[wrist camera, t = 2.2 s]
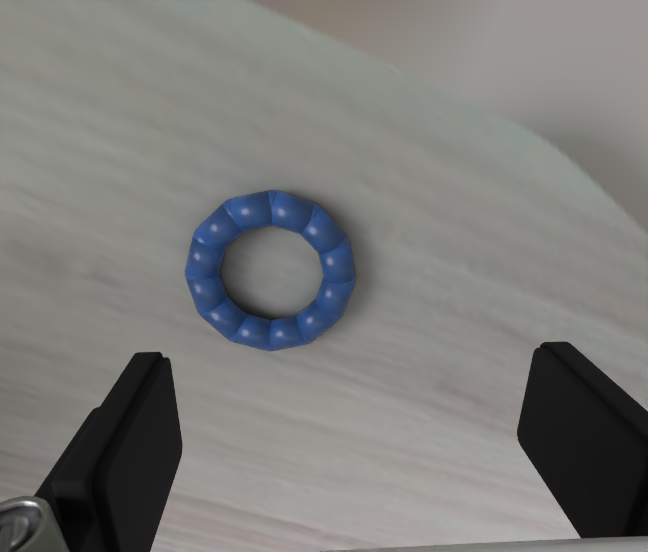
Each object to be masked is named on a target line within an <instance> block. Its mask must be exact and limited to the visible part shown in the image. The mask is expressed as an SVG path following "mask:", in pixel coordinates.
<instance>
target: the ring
mask: <svg viewBox="0 0 648 552" xmlns="http://www.w3.org/2000/svg"><path fill="white" fill-rule="evenodd" d="M271 225H274V226H277V227H280V228H283V229H287V230H290V231H293V232H296V233H300V234H301V235H302V236H303V237H304V238H305V239H306V240H307V241H308V243H309V244H310V245H311V246H312V247H313V248H314V249H315V250H316V251H317V252H318V253H319V258H320V262H321V267H322V271H323V276H324V278H323V281H322V283H321V286H320V289H319V292H318V295H317V298H316V300H314V301H313V302H312V303H311V304H310V305H308V306H307V307H306V308H305V309H304V310H302V311H301V312H300V313H299V314H298V315H295V316H290V317H285V318H280V319H275V320H269V319H265V318H261V317H257V316H254V315H250V314H246V313H245V312H244V311H243V310H242V309H240V308H239V307H238V306H237V305H236V304H235V303H234V302H233V301H232V300H231V299H230V298H228V297H227V295H226V292H225V289H224V286H223V283H222V280H221V276H220V273H219V271H220V267H221V264H222V260H223V256H224V252H225V249H226V248H227V247H228V246H229V245H230V244H231V243H232V242H233V241H234V240H235V239H237V238H238V237H239V236H240V235H241V234H242V233H243V232H244V231H247V230H252V229H257V228H261V227H266V226H271ZM185 277H186V280H187V283H188V286H189V289H190V291H191V294H192V297H193V300H194V303H195V306H196V308H197V311H198V313H199V314H200V315H201V316H202V317H203V318H204V319H205V320H206V321H207V322H208V323H209V324H211V325H212V326H213V327H214V328H215V329H216V330H217V331H219V332H220V333H221V334H222V335H223V336H224V337H225V338H227V339H228V340H229V341H231V342H234V343H238V344H242V345H246V346H250V347H254V348H258V349H261V350H265V351H276V350H281V349H286V348H291V347H296V346H301V345H306V344H309V343H311V342H313V341H314V340H315V339H317V338H318V337H319V336H320V335H322V334H323V333H324V332H325V331H326V330H328V329H329V328H330V327H331V326H333V325H334V324H335V323H336V322H338V321H339V320H340V319H341V318H342V316H343V314H344V311H345V309H346V306H347V304H348V301H349V298H350V296H351V293H352V291H353V288H354V285H355V282H356V273H355V268H354V262H353V257H352V252H351V247H350V242H349V238H348V237H347V235H346V234H345V233H344V232H343V230H342V229H341V228H340V227H339V226H338V225H337V224H336V223H335V222H334V221H333V219H332V218H331V217H330V216H329V215H328V214H327V213H326V212H325V211H324V210H323V208H322V207H321V206H319V205H318V204H316V203H314V202H311V201H308V200H305V199H301V198H298V197H295V196H292V195H289V194H286V193H283V192H280V191H276V190H269V191H264V192H259V193H255V194H250V195H246V196H241V197H236V198H232V199H229V200H227V201H225V202H224V203H223V204H222V205H221V206H220V207H219V208H218V209H217V210H216V211H215V212H214V213H212V214H211V215H210V216H209V217H208V218H207V219H206V220H205V221H204V222H203V223H202V224H201V225H200V226H199V227H198V228H197V229H196V230H195V232H194V234H193V238H192V242H191V247H190V251H189V255H188V260H187V264H186V268H185Z"/></svg>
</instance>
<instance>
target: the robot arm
mask: <svg viewBox="0 0 648 552" xmlns="http://www.w3.org/2000/svg"><path fill="white" fill-rule="evenodd" d="M517 436H518V441H519V443H520V445H521V447H522V449H523V450H524V452H525V453H526V455H527V456H528V458H529V459H530V461H531V462H532V464H533V465H534V467H535V468H536V470H537V471H538V473H539V475H540V476H541V478H542V479H543V481H544V482H545V484H546V485H547V487H548V488H549V490H550V491H551V493H552V494H553V496H554V497H555V499H556V501H557V502H558V504H559V505H560V507H561V508H562V510H563V511H564V513H565V514H566V516H567V517H568V519H569V520H570V522H571V523H572V525H573V527H574V528H575V530H576V531H577V533H578V534H579V536H580V537H581V539H561V540H539V541H516V542H494V543H474V544H454V545H434V546H414V547H395V548H375V549H356V550H338V551H321V552H648V411H647V410H645V409H644V408H643V407H642V406H641V405H640V404H639V403H637V402H636V401H635V400H634V399H633V398H632V397H631V396H629V395H628V394H627V393H626V392H625V391H624V390H623V389H621V388H620V387H619V386H618V385H617V384H616V383H615V382H613V381H612V380H611V379H610V378H609V377H608V376H607V375H605V374H604V373H603V372H602V371H601V370H600V369H599V368H598V367H596V366H595V365H594V364H593V363H592V362H591V361H590V360H588V359H587V358H586V357H585V356H584V355H583V354H582V353H580V352H579V351H578V350H577V349H576V348H575V347H574V346H572V345H571V344H570V343H568V342H544V343H542V344H541V345H540V348H536V349H535V351H534V353H533V357H532V362H531V367H530V372H529V377H528V381H527V386H526V391H525V396H524V401H523V405H522V410H521V415H520V420H519V424H518V429H517ZM181 455H182V438H181V431H180V424H179V417H178V410H177V403H176V397H175V390H174V383H173V376H172V369H171V363H170V359H169V358H163V356H162V354H161V353H160V352H138V353H135V354H134V356H133V357H132V359H131V360H130V362H129V363H128V365H127V366H126V368H125V369H124V371H123V372H122V374H121V375H120V377H119V379H118V380H117V382H116V383H115V385H114V386H113V388H112V389H111V391H110V392H109V394H108V395H107V397H106V398H105V400H104V401H103V403H102V405H101V406H100V407H97V408H95V409H93V410H92V411H91V413H90V414H89V415H88V417H87V418H86V420H85V421H84V423H83V424H82V426H81V427H80V429H79V430H78V432H77V433H76V435H75V436H74V438H73V439H72V440H71V442H70V443H69V445H68V446H67V448H66V449H65V451H64V452H63V454H62V455H61V457H60V458H59V460H58V461H57V463H56V464H55V466H54V467H53V469H52V470H51V472H50V473H49V475H48V476H47V478H46V479H45V481H44V482H43V484H42V485H41V486H40V488H39V489H38V491H37V492H36V494H35V495H34V496H22V497H18V498H13V499H9V500H6V501H4V502H1V503H0V552H150V550H151V547H152V544H153V541H154V538H155V535H156V532H157V529H158V526H159V523H160V520H161V517H162V514H163V511H164V508H165V505H166V502H167V499H168V496H169V492H170V489H171V486H172V483H173V480H174V477H175V474H176V471H177V468H178V465H179V462H180V459H181Z"/></svg>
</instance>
